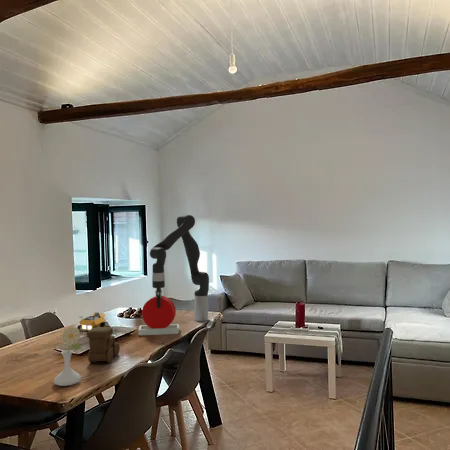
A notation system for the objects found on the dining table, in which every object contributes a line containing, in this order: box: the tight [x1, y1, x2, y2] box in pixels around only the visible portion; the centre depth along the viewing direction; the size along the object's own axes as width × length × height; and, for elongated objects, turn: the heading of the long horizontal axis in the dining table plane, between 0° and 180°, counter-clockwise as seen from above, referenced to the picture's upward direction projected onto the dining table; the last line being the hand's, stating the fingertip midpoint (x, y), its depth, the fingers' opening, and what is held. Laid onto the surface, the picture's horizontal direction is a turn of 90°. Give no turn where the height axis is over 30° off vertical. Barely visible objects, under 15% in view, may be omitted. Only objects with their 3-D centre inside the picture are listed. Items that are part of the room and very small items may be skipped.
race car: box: [76, 311, 110, 332], centre depth 282 cm, size 15×15×11 cm
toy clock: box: [141, 295, 177, 329], centre depth 273 cm, size 20×6×20 cm, turn 84°
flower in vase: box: [53, 326, 82, 387], centre depth 191 cm, size 13×11×25 cm
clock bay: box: [138, 323, 180, 336], centre depth 273 cm, size 10×24×4 cm, turn 96°
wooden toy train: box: [86, 324, 121, 364], centre depth 223 cm, size 20×11×17 cm, turn 176°
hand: (158, 306), depth 273 cm, fingers closed on toy clock, 6 cm apart
